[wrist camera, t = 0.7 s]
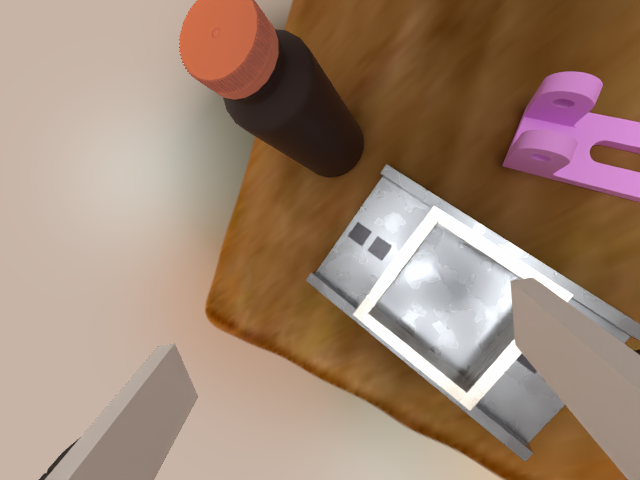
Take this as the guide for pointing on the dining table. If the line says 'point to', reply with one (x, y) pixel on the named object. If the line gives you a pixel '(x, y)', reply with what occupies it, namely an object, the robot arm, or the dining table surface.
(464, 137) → the dining table surface
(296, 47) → the vinegar
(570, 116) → the bracket
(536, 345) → the robot arm
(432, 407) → the dining table surface
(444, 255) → the grey base plate
